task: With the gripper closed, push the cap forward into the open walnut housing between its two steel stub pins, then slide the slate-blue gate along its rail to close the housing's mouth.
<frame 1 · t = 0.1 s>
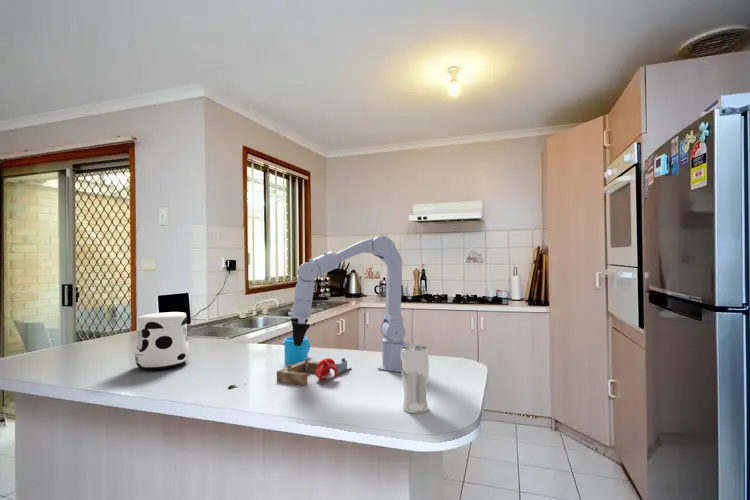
hand: (296, 343, 128), 10 cm above the table, tool pointing down, fingers open, 7 cm apart
milk container: (163, 366, 144), on the table
gate: (340, 365, 132), point 2 cm above the table, slide at 0.0 cm
mug: (299, 360, 148), on the table
cap: (327, 378, 124), on the table, touching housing
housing: (308, 377, 127), on the table
beer glass: (415, 409, 99), on the table
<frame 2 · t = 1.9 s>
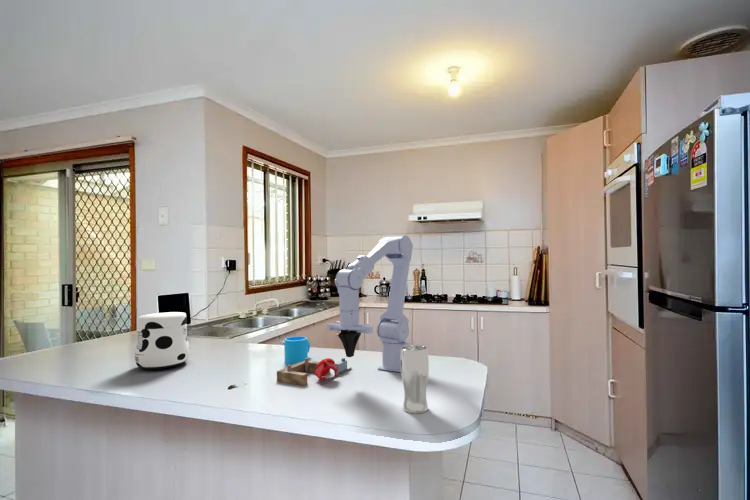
hand: (350, 356, 119), 8 cm above the table, tool pointing down, fingers closed
cap: (327, 378, 124), on the table, touching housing
everything else where it was.
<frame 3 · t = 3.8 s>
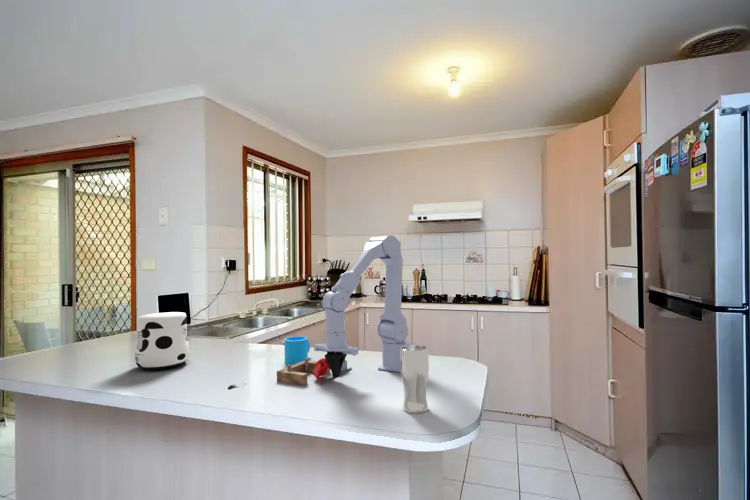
hand: (336, 376, 122), 1 cm above the table, tool pointing down, fingers closed
cap: (325, 378, 124), on the table, touching gripper
everything else where it was.
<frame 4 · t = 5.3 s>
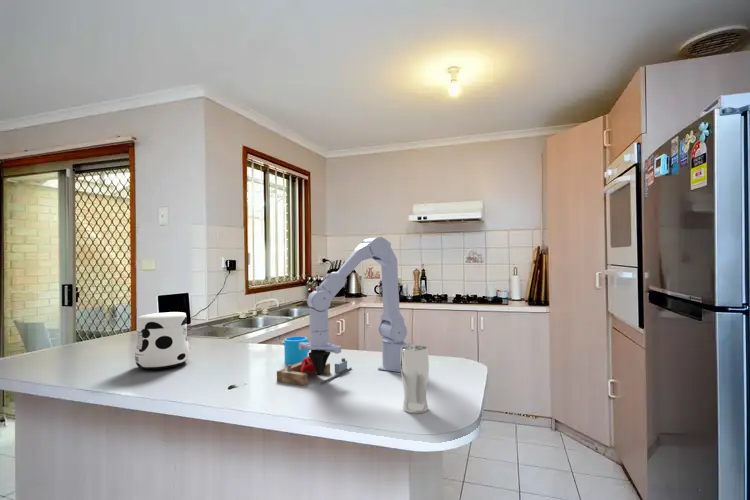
hand: (320, 374, 125), 1 cm above the table, tool pointing down, fingers closed
cap: (312, 375, 128), on the table, touching gripper
everything else where it was.
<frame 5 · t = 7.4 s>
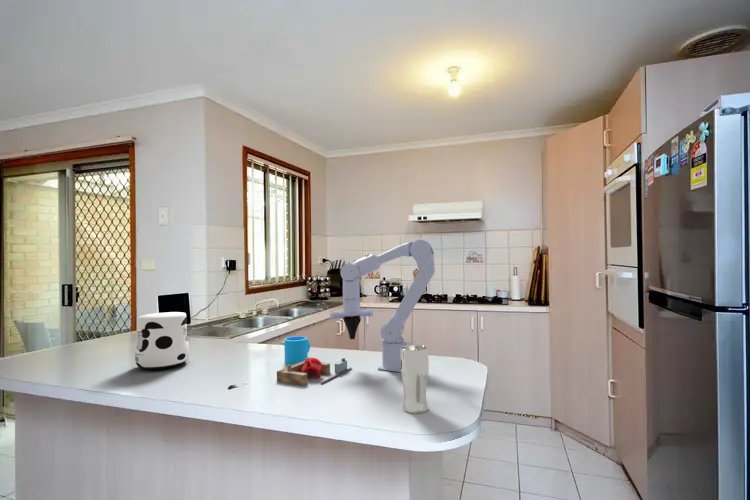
hand: (352, 338, 138), 9 cm above the table, tool pointing down, fingers closed
cap: (312, 377, 128), on the table
everything else where it was.
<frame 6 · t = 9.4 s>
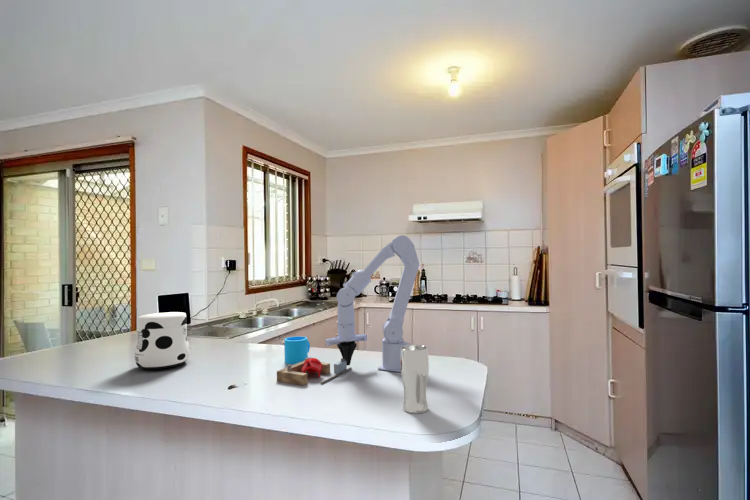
hand: (347, 364, 135), 1 cm above the table, tool pointing down, fingers closed
gate: (340, 365, 131), point 2 cm above the table, slide at 0.4 cm, touching gripper
everything else where it was.
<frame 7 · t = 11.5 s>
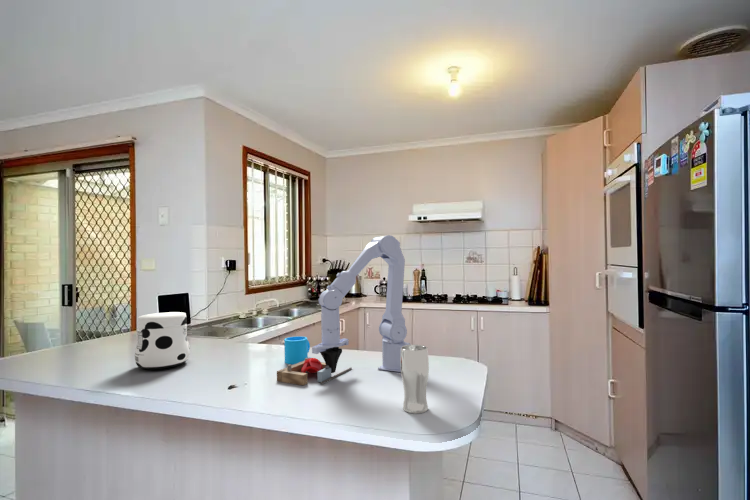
hand: (331, 372, 127), 1 cm above the table, tool pointing down, fingers closed
gate: (324, 373, 123), point 2 cm above the table, slide at 9.3 cm, touching gripper
everything else where it was.
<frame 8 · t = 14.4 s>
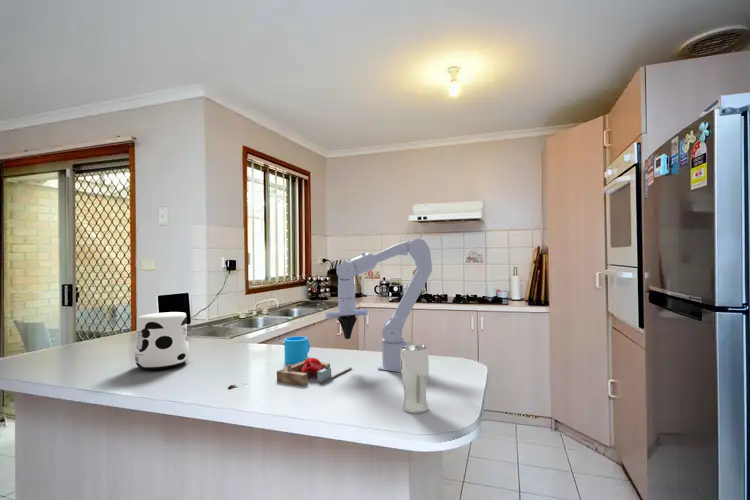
hand: (347, 338, 136), 10 cm above the table, tool pointing down, fingers closed
gate: (324, 373, 123), point 2 cm above the table, slide at 9.3 cm
everything else where it was.
at the end: cap inside the target area on the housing (1.4 cm from its centre), point 0.0 cm above the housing's base; gate slide at 9.3 cm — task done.
